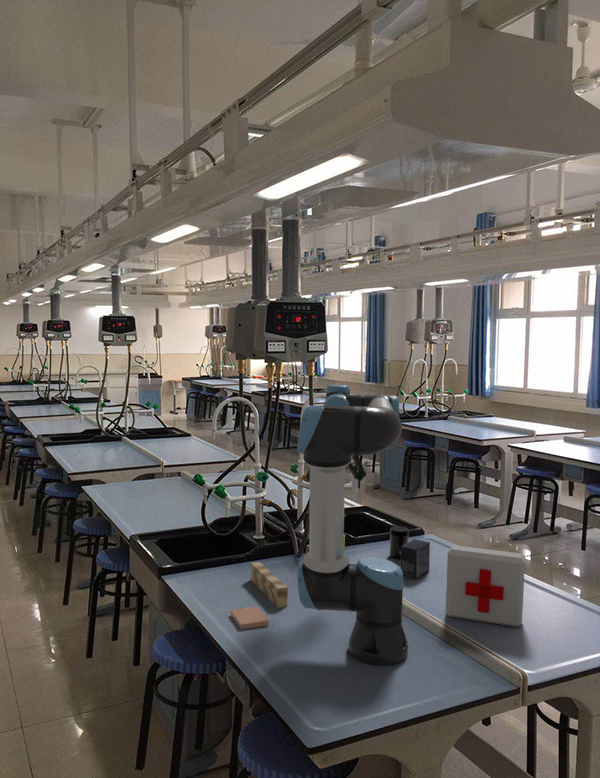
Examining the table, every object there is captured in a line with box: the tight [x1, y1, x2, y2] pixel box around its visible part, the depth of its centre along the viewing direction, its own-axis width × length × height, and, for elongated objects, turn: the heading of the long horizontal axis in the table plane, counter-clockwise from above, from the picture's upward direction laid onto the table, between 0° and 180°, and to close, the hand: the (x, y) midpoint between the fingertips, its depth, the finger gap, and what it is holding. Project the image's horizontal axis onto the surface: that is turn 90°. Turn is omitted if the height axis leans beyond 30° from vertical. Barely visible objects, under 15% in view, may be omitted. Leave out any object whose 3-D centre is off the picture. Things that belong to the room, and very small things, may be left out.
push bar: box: [250, 561, 289, 609], centre depth 206 cm, size 24×3×6 cm, turn 24°
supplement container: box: [389, 525, 410, 560], centre depth 243 cm, size 7×7×10 cm
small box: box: [400, 538, 431, 580], centre depth 225 cm, size 11×6×10 cm, turn 144°
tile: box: [230, 606, 270, 630], centre depth 186 cm, size 2×8×10 cm
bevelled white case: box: [445, 544, 526, 628], centre depth 189 cm, size 21×8×20 cm, turn 70°
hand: (335, 500), depth 208 cm, fingers open, 13 cm apart
